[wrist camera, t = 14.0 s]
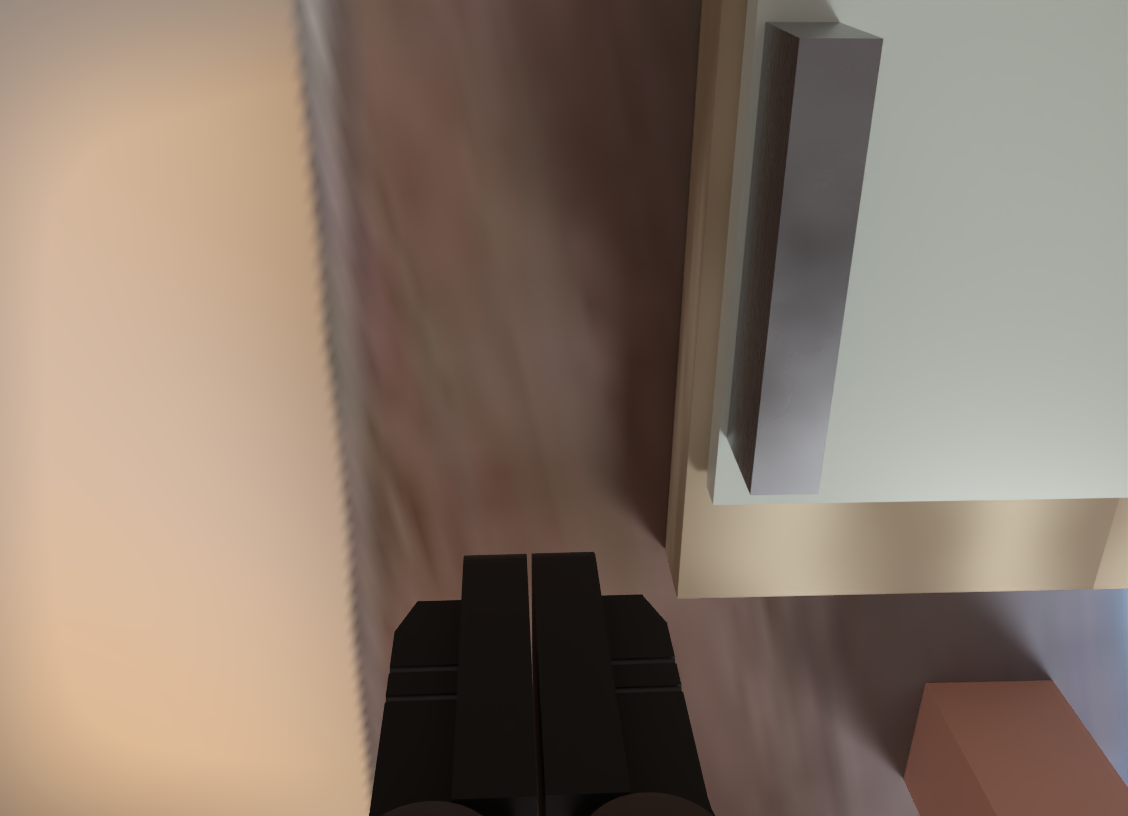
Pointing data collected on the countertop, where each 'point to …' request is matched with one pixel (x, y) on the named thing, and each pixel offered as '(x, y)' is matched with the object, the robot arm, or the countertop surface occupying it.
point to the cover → (926, 255)
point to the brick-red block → (1007, 754)
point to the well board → (834, 530)
